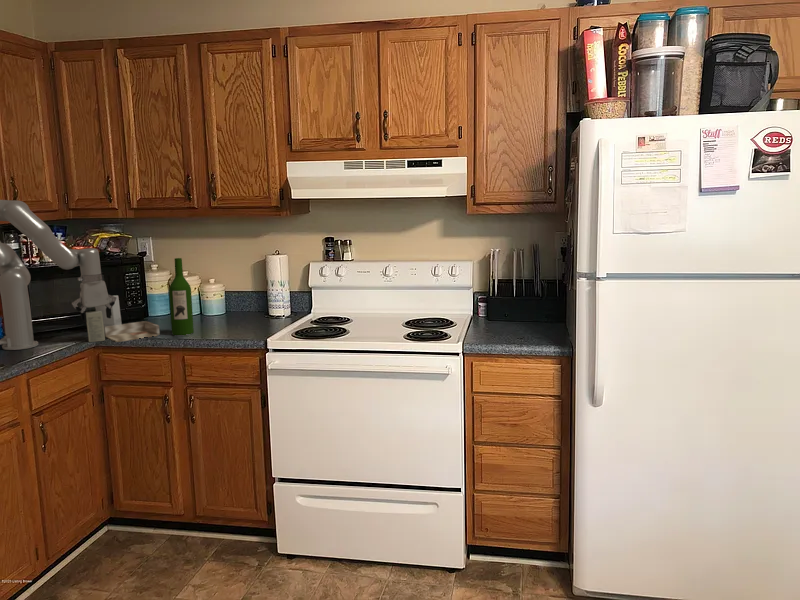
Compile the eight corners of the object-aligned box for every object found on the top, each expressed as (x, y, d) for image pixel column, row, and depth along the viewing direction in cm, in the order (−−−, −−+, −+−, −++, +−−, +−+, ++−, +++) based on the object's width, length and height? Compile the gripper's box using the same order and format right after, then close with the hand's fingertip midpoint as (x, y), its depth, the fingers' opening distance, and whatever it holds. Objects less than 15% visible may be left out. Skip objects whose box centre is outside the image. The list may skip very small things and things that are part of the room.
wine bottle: (172, 336, 288) (166, 259, 283) (172, 332, 296) (167, 257, 291) (194, 334, 290) (189, 258, 285) (193, 330, 299) (188, 257, 294)
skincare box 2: (122, 329, 304) (119, 295, 302) (115, 332, 298) (112, 297, 295) (104, 329, 305) (101, 295, 302) (96, 332, 298) (93, 297, 296)
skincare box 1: (105, 339, 285) (102, 310, 283) (105, 341, 281) (102, 311, 279) (88, 340, 282) (85, 311, 280) (87, 342, 278) (85, 313, 276)
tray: (116, 342, 278) (115, 331, 277) (105, 337, 288) (104, 326, 288) (159, 335, 290) (159, 325, 289) (147, 330, 300) (146, 320, 299)
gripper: (72, 282, 269) (77, 324, 272) (116, 276, 280) (121, 317, 283) (66, 280, 275) (71, 322, 277) (110, 275, 286) (115, 315, 289)
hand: (96, 319), depth 280 cm, fingers open, 9 cm apart
